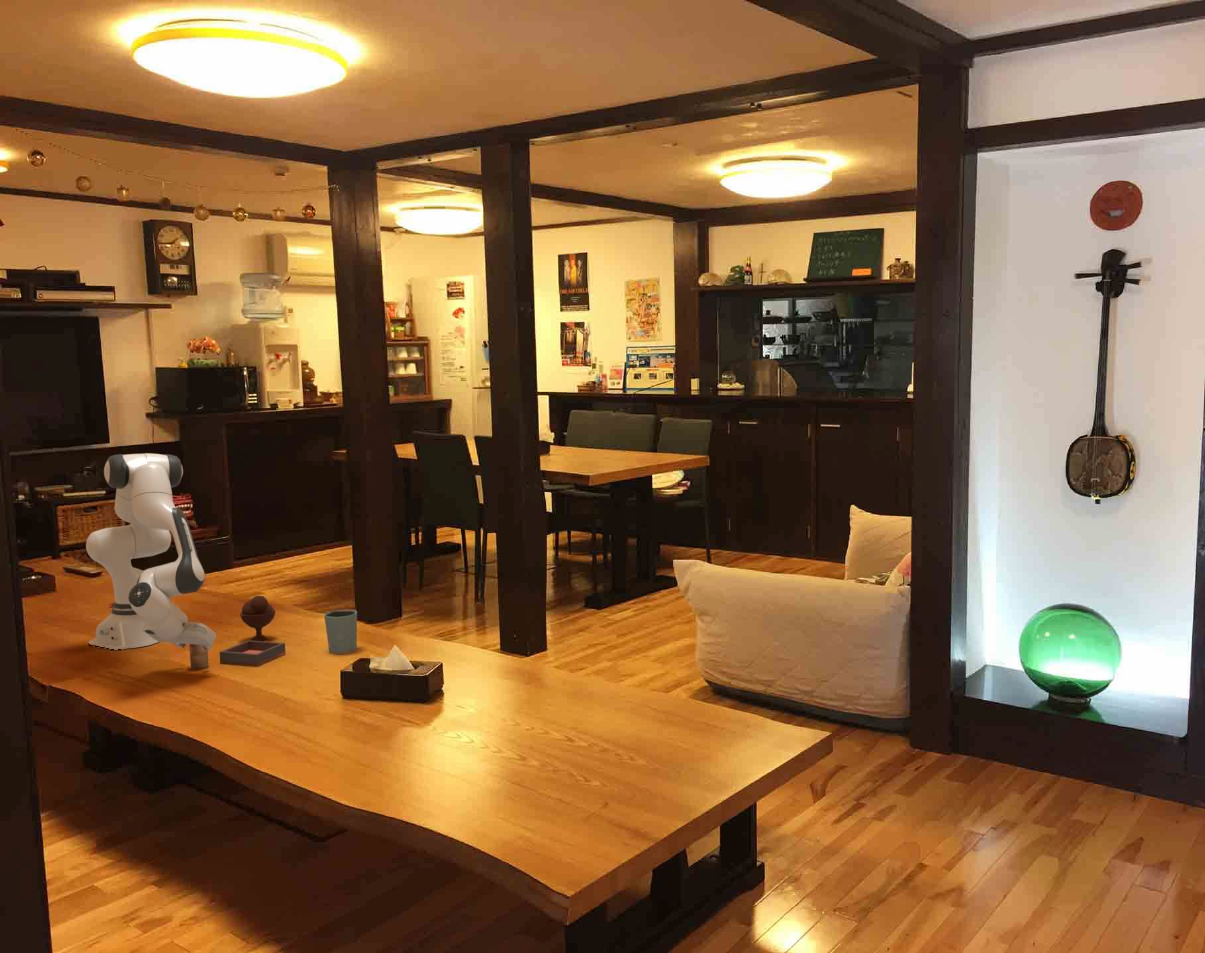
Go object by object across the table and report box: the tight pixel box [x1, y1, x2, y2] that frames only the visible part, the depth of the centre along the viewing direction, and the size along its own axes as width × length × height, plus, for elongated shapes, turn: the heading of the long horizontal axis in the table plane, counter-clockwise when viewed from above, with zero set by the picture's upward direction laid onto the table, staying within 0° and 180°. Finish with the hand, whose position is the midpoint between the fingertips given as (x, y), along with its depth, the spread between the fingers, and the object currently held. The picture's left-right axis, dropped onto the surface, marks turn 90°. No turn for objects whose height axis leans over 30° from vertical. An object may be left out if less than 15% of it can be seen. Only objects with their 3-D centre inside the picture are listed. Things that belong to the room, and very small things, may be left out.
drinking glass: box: [323, 609, 358, 655], centre depth 324 cm, size 10×10×12 cm
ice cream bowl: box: [239, 595, 276, 642], centre depth 338 cm, size 11×11×15 cm
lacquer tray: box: [219, 639, 286, 667], centre depth 317 cm, size 14×14×4 cm
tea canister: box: [188, 644, 210, 671], centre depth 308 cm, size 5×5×10 cm
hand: (196, 646), depth 307 cm, fingers open, 8 cm apart
